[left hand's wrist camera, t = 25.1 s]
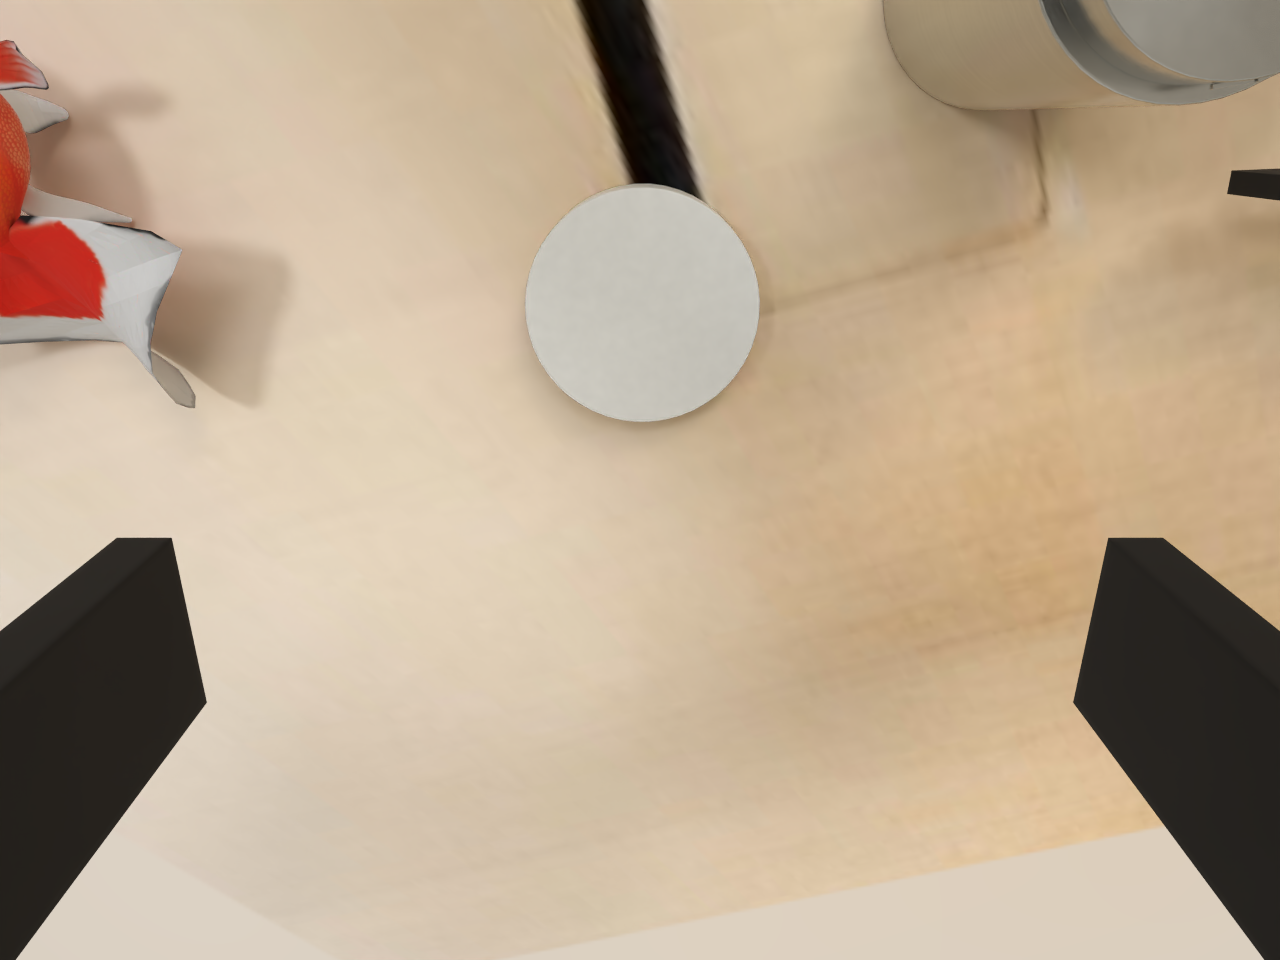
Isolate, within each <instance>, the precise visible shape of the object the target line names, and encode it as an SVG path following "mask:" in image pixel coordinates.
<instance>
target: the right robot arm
mask: <svg viewBox="0 0 1280 960" xmlns="http://www.w3.org/2000/svg"><path fill="white" fill-rule="evenodd" d="M1227 194H1233V195H1240V196H1248V197H1256V198H1264V199H1272V200H1280V169H1260V170H1237V171H1232V172H1231V177H1230V182H1229V187H1228V193H1227Z"/></svg>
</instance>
